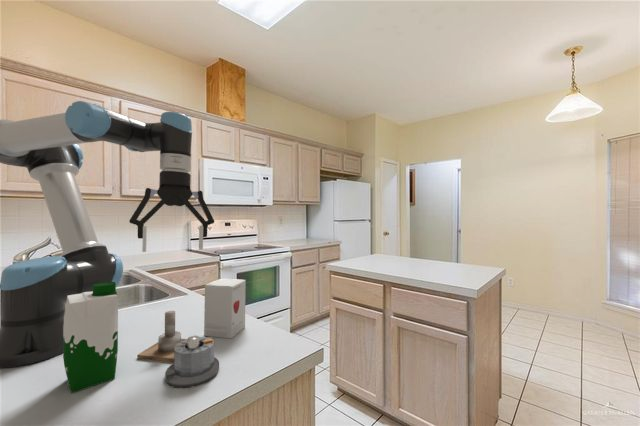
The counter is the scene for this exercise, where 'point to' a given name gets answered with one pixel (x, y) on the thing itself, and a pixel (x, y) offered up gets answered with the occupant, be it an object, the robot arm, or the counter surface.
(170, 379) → the disc
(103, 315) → the milk carton
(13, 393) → the counter surface
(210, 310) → the supplement box
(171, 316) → the stand
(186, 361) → the clutch ring
